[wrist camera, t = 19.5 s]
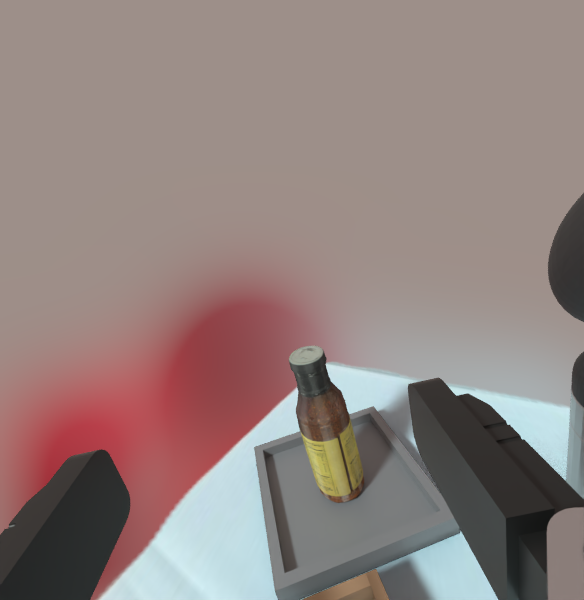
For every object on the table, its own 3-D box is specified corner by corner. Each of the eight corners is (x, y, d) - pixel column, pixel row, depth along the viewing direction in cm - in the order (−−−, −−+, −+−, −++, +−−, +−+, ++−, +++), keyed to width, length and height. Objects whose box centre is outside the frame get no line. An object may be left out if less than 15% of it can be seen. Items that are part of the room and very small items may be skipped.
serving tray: (375, 418, 54) (373, 406, 53) (459, 532, 35) (458, 516, 34) (258, 459, 51) (254, 447, 50) (280, 607, 32) (275, 591, 31)
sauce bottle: (349, 457, 46) (322, 332, 40) (375, 490, 41) (349, 351, 34) (308, 479, 44) (273, 352, 38) (329, 517, 39) (293, 375, 32)
